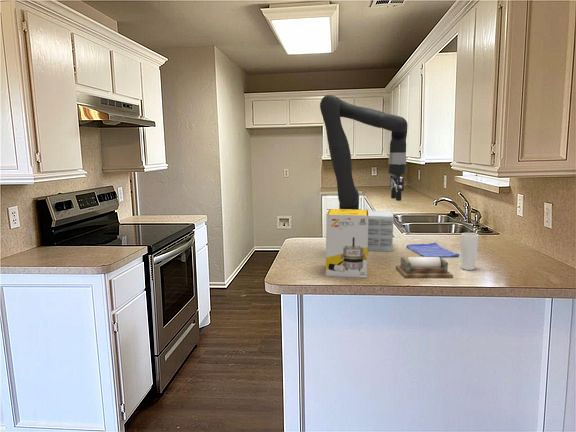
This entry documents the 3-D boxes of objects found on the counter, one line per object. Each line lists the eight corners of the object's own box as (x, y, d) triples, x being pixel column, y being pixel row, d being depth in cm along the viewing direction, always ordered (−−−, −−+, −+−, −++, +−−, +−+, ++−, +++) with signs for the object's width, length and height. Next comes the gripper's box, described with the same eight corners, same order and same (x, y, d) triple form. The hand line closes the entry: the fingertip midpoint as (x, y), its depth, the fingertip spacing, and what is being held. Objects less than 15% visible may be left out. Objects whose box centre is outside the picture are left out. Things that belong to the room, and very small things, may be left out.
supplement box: (366, 243, 227) (367, 210, 224) (391, 244, 224) (392, 211, 221) (365, 251, 210) (366, 215, 207) (392, 252, 207) (394, 216, 204)
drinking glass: (475, 271, 173) (477, 236, 171) (457, 269, 176) (460, 234, 174) (477, 268, 179) (480, 233, 176) (460, 265, 182) (462, 232, 180)
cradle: (404, 278, 164) (405, 264, 164) (395, 268, 178) (396, 255, 177) (452, 278, 165) (453, 264, 164) (439, 268, 178) (440, 255, 178)
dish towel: (436, 247, 220) (436, 242, 220) (460, 258, 197) (461, 252, 196) (405, 248, 218) (405, 243, 217) (426, 259, 194) (426, 254, 194)
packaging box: (325, 276, 168) (326, 214, 164) (328, 265, 184) (329, 209, 180) (366, 278, 165) (368, 215, 161) (366, 266, 181) (367, 209, 177)
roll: (409, 271, 169) (410, 258, 168) (406, 268, 174) (406, 255, 173) (441, 271, 168) (441, 258, 168) (436, 268, 174) (437, 255, 173)
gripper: (385, 162, 191) (383, 197, 194) (393, 163, 177) (391, 201, 180) (401, 162, 191) (400, 197, 194) (410, 163, 177) (408, 201, 180)
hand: (395, 199), depth 187 cm, fingers open, 8 cm apart
